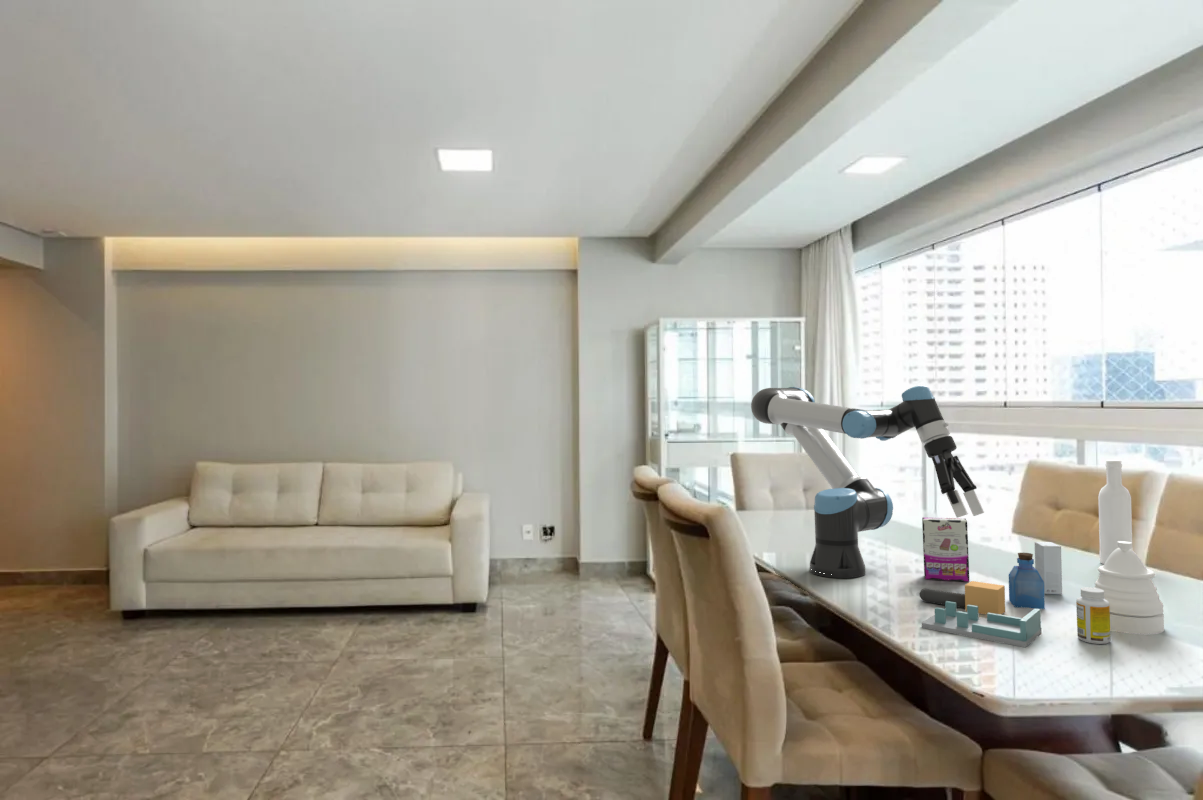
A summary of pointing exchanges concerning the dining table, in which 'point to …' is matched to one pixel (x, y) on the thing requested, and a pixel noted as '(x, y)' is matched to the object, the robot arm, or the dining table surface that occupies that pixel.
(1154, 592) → the honey pot
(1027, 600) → the perfume bottle
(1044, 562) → the skincare box
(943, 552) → the candy bar box
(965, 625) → the teal block plate
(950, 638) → the dining table surface
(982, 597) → the orange cube-head hammer
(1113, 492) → the bottle
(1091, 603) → the supplement bottle
